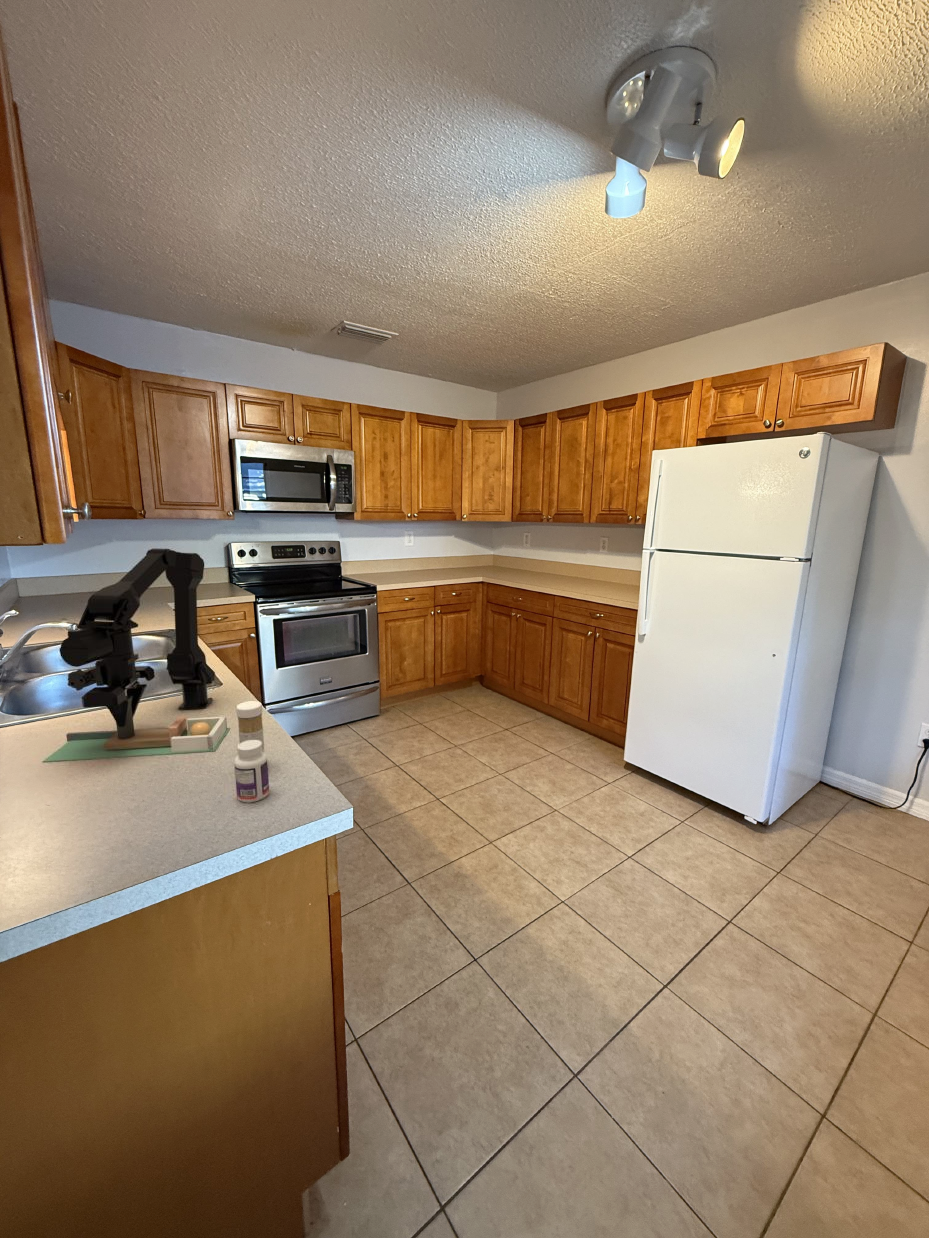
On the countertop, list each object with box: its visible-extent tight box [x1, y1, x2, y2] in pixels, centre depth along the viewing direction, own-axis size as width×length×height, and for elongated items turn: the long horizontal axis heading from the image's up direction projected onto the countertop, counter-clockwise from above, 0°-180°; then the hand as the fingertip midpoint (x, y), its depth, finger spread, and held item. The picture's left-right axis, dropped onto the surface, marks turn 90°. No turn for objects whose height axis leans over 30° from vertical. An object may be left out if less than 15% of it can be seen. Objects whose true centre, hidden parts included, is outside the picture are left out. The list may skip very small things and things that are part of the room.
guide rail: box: [65, 726, 170, 742], centre depth 111 cm, size 1×24×2 cm, turn 101°
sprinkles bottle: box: [236, 700, 265, 753], centre depth 97 cm, size 5×5×14 cm
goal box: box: [171, 716, 228, 752], centre depth 110 cm, size 11×8×3 cm
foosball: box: [190, 722, 210, 736], centre depth 110 cm, size 4×4×4 cm
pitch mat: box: [41, 727, 231, 763], centre depth 108 cm, size 12×32×1 cm, turn 101°
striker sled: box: [104, 706, 188, 750], centre depth 107 cm, size 6×14×10 cm, turn 101°
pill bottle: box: [233, 740, 270, 803], centre depth 88 cm, size 5×5×10 cm
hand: (125, 723), depth 107 cm, fingers closed on striker sled, 3 cm apart
